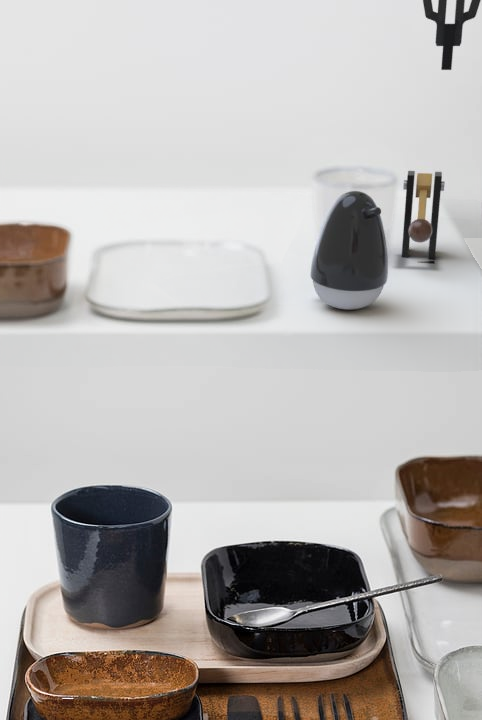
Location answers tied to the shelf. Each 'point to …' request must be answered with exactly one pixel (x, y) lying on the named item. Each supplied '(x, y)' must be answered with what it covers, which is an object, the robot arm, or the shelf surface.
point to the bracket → (434, 217)
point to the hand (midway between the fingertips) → (446, 69)
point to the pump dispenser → (351, 253)
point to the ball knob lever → (422, 209)
